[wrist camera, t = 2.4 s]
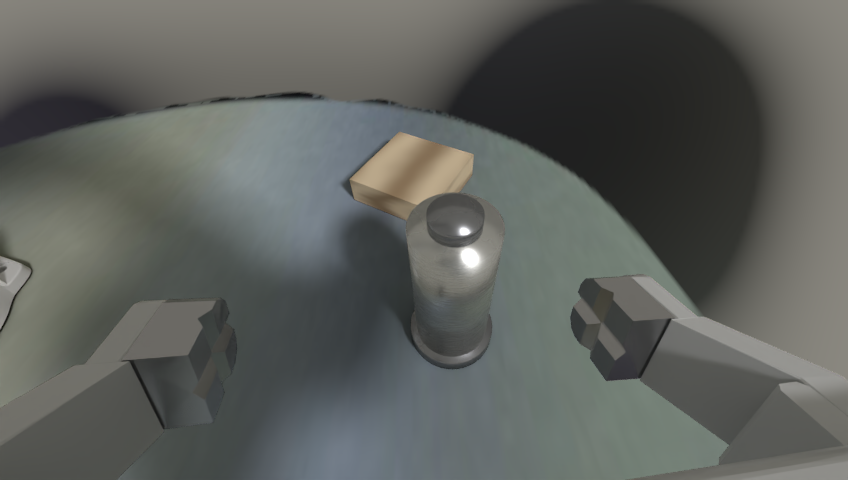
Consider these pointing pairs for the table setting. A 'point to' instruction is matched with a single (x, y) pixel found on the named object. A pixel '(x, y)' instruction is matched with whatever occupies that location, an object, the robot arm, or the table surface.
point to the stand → (410, 174)
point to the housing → (453, 276)
